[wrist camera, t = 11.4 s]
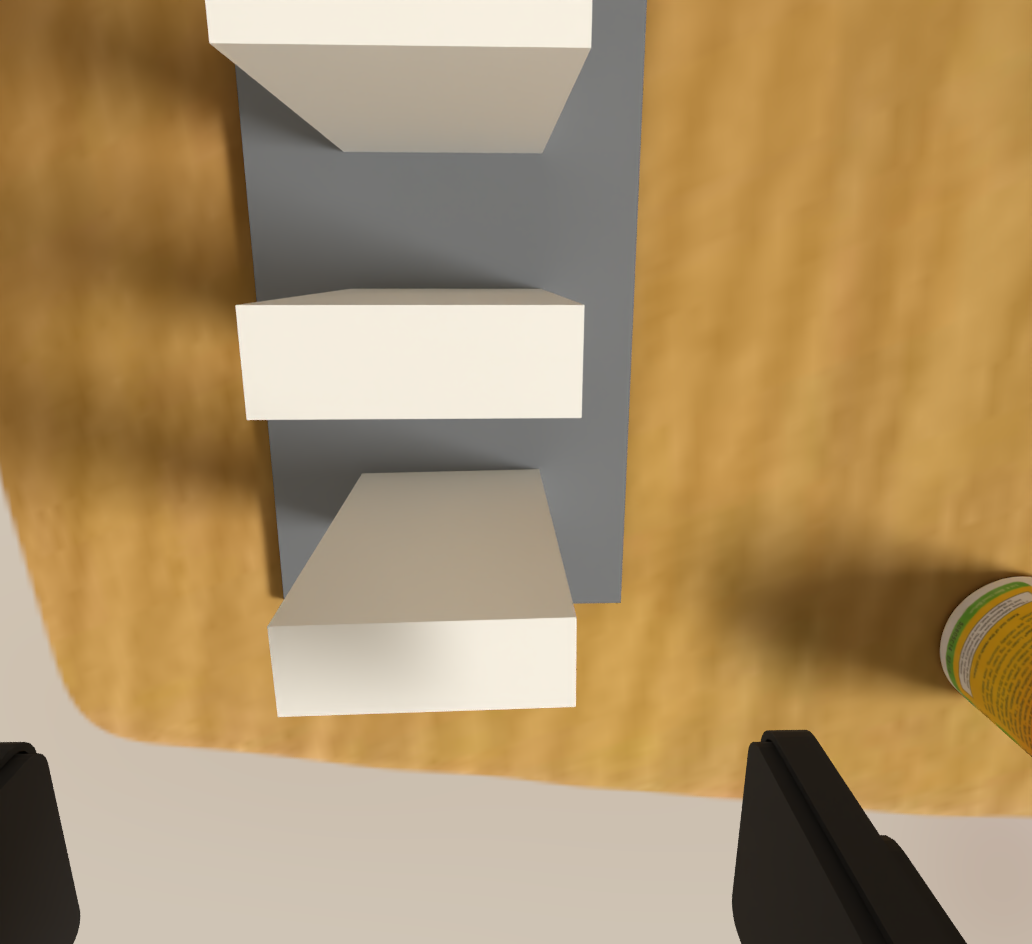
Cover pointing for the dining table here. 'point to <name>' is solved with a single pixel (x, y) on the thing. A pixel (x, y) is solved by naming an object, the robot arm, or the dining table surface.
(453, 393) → the domino
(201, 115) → the dining table surface
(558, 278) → the mat
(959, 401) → the dining table surface
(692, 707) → the dining table surface
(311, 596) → the domino
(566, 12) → the domino
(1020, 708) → the supplement bottle
